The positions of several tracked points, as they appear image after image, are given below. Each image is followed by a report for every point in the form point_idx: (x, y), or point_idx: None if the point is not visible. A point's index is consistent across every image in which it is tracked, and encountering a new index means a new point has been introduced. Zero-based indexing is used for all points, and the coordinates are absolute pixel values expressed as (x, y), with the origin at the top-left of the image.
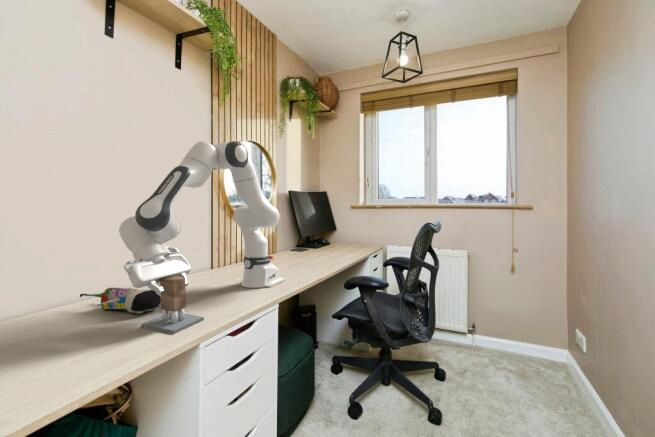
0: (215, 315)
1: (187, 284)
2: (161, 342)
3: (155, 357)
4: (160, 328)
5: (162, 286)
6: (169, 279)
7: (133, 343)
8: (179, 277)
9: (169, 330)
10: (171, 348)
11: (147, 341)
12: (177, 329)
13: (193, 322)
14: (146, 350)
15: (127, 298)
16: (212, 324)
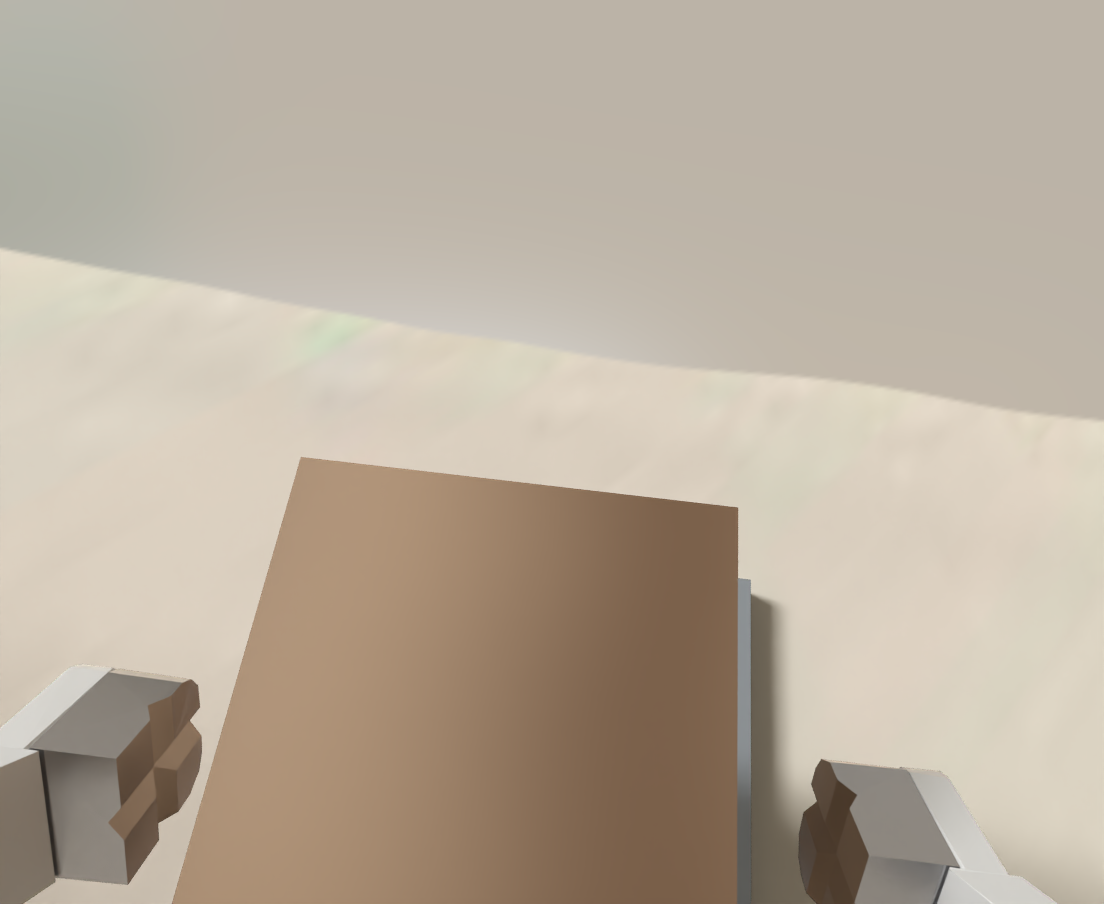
0: (197, 502)
1: (125, 673)
2: (918, 568)
3: (1098, 425)
4: (749, 791)
5: None
6: (677, 767)
7: (1071, 825)
8: (335, 634)
9: (747, 647)
10: (948, 415)
11: (970, 717)
12: None
13: None
14: (1077, 575)
15: None
16: (439, 395)
